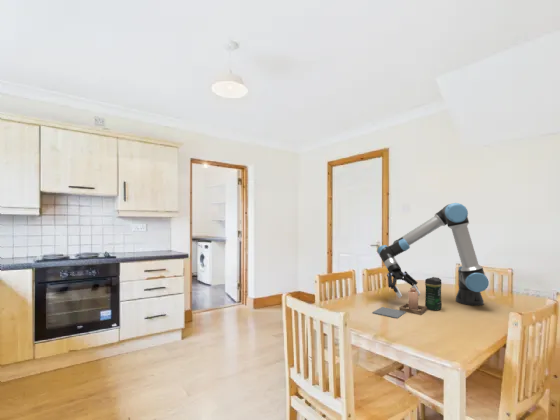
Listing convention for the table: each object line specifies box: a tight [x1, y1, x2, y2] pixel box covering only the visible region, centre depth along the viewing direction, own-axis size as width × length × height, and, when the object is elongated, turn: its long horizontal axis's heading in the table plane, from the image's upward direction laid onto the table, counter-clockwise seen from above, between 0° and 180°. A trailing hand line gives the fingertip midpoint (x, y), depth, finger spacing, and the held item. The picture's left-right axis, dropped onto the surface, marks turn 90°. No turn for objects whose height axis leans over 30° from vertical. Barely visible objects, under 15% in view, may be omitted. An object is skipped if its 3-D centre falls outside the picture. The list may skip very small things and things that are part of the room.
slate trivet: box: [372, 306, 407, 319], centre depth 173 cm, size 14×14×1 cm
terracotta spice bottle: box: [407, 287, 419, 310], centre depth 178 cm, size 5×5×13 cm
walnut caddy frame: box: [398, 302, 428, 316], centre depth 178 cm, size 12×12×2 cm
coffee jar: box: [424, 276, 443, 311], centre depth 182 cm, size 10×8×19 cm
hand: (409, 296), depth 179 cm, fingers open, 13 cm apart
